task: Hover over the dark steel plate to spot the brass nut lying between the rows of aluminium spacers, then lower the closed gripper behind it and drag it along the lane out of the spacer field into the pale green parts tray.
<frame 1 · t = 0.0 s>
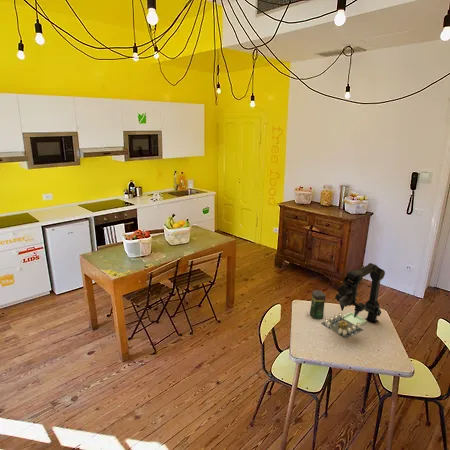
hand: (348, 313, 210), 15 cm above the table, fingers open, 9 cm apart
spacer field: (341, 327, 222), on the table
tray: (354, 321, 229), on the table
nut: (342, 326, 222), point 1 cm above the table, touching spacer field
coffee jar: (316, 316, 234), on the table
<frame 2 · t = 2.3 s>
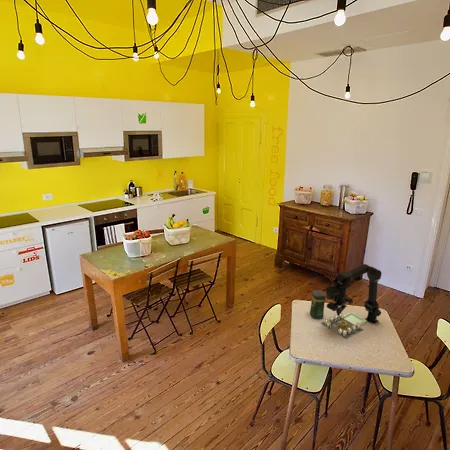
hand: (338, 315, 215), 11 cm above the table, fingers closed
nothing on the table moved.
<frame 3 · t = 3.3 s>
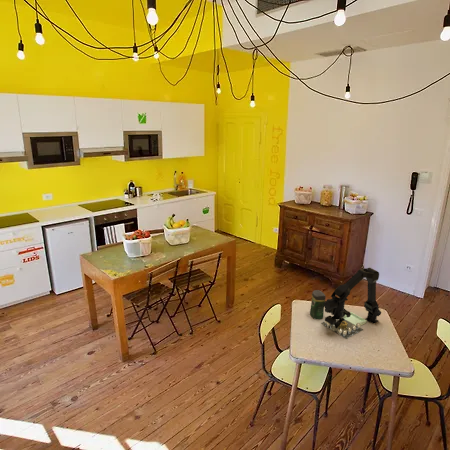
hand: (336, 328, 218), 2 cm above the table, fingers closed
nothing on the table moved.
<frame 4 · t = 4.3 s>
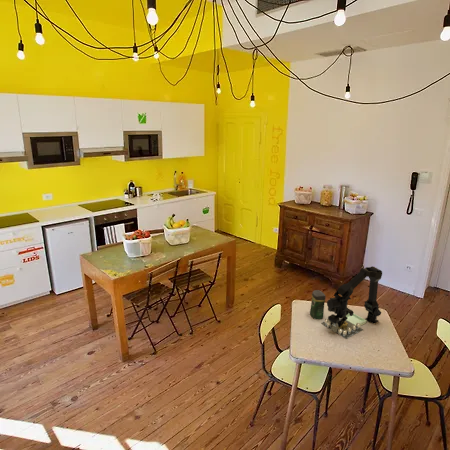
hand: (339, 326, 220), 1 cm above the table, fingers closed
nut: (342, 326, 222), point 1 cm above the table, touching gripper, spacer field
everything else where it was.
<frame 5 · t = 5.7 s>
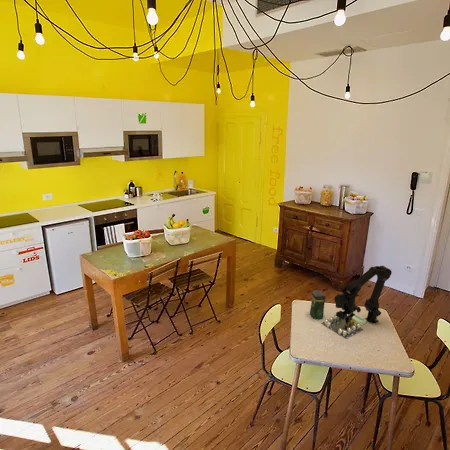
hand: (346, 323, 224), 2 cm above the table, fingers closed
nut: (350, 322, 226), point 1 cm above the table, touching gripper
everything else where it was.
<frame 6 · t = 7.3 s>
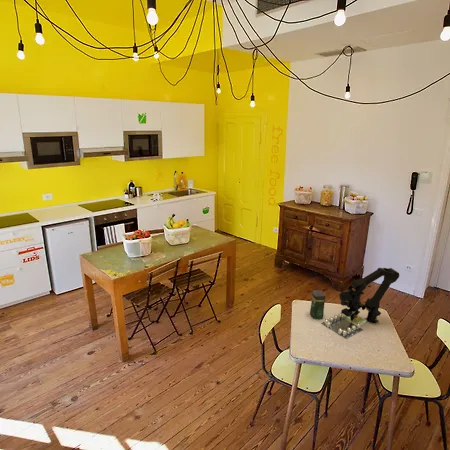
hand: (351, 320, 227), 2 cm above the table, fingers closed
nut: (355, 320, 229), point 1 cm above the table, touching gripper, tray
everything else where it was.
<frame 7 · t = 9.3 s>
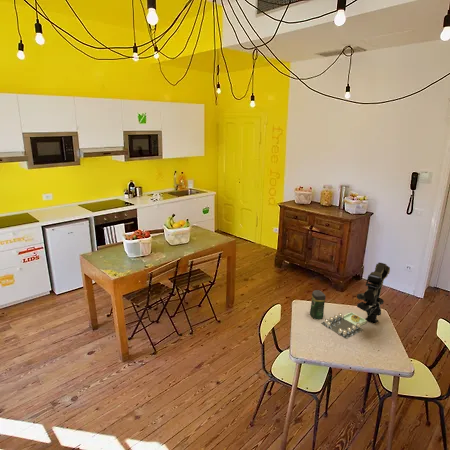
hand: (368, 315, 214), 12 cm above the table, fingers closed
nut: (355, 320, 229), point 1 cm above the table, touching tray
everything else where it was.
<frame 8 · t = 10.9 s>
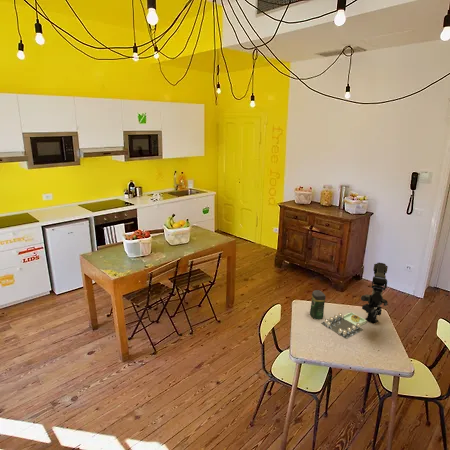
hand: (372, 316, 213), 12 cm above the table, fingers closed
nothing on the table moved.
at the end: nut inside the target area on the tray (0.9 cm from its centre), point 0.6 cm above the tray's base; nut moved 13.2 cm from its start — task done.
